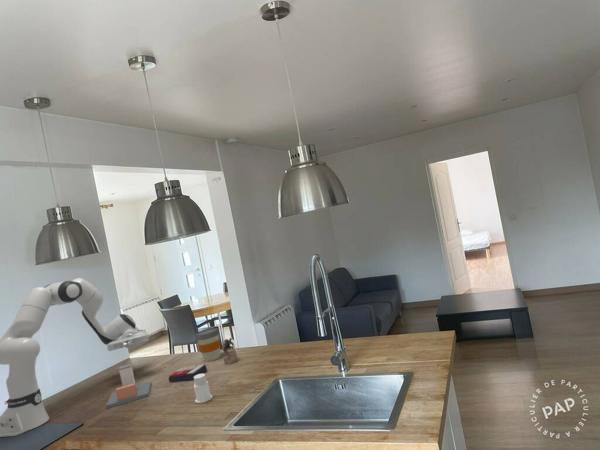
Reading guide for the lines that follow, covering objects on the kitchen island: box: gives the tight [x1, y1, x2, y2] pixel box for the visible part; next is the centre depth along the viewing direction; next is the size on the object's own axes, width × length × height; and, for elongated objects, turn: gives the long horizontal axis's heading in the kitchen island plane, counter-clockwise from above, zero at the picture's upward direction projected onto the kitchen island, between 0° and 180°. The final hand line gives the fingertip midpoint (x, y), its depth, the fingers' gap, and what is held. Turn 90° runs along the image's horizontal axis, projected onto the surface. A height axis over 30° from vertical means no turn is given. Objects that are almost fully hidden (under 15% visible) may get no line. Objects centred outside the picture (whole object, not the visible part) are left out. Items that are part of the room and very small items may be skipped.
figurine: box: [221, 337, 239, 366], centre depth 226 cm, size 7×7×12 cm
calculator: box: [168, 364, 208, 383], centre depth 216 cm, size 11×4×15 cm
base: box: [105, 380, 153, 410], centre depth 206 cm, size 18×18×6 cm
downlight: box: [193, 373, 213, 404], centre depth 181 cm, size 8×7×10 cm
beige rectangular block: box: [118, 363, 137, 387], centre depth 209 cm, size 5×4×12 cm
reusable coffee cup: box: [195, 327, 222, 362], centre depth 240 cm, size 12×13×15 cm
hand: (126, 345), depth 224 cm, fingers closed
